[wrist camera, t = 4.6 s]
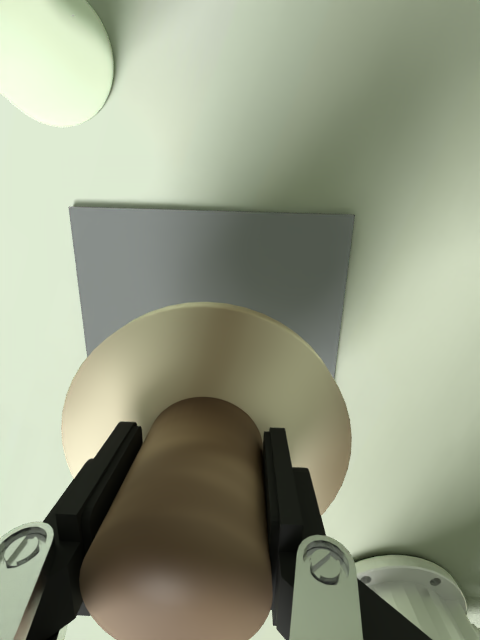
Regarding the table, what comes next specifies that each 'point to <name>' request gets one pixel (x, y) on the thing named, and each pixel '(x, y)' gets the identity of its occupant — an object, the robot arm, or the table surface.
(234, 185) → the table surface
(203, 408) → the lid
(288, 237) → the mat
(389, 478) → the table surface
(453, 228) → the table surface
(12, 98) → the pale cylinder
